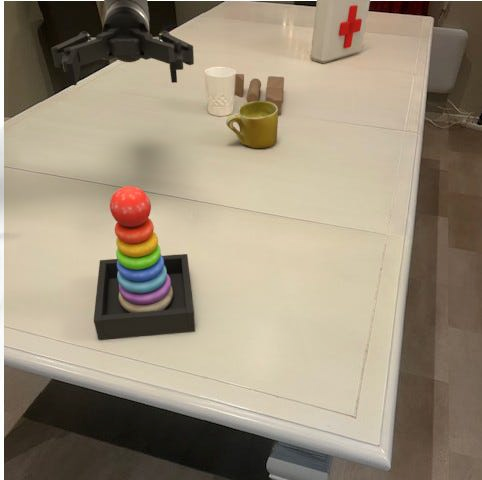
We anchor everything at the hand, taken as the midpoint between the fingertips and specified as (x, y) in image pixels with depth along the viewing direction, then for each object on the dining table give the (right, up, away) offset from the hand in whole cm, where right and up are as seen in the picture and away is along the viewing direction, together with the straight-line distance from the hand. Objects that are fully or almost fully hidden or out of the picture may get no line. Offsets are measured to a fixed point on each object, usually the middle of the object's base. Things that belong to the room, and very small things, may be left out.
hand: (123, 73), depth 65 cm
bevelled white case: (+49, +55, +102) cm, 126 cm away
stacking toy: (+2, -31, +7) cm, 32 cm away
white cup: (+10, +21, +64) cm, 68 cm away
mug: (+18, +8, +50) cm, 54 cm away
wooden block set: (+19, +26, +69) cm, 76 cm away
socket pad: (+2, -31, +8) cm, 32 cm away
